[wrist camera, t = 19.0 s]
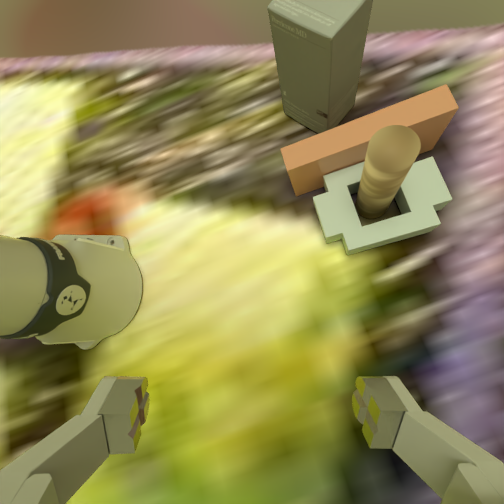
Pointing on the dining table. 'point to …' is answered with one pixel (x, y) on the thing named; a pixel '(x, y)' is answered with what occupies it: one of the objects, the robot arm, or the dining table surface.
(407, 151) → the dowel
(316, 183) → the wall
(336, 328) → the dining table surface
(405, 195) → the block
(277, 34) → the skincare box
